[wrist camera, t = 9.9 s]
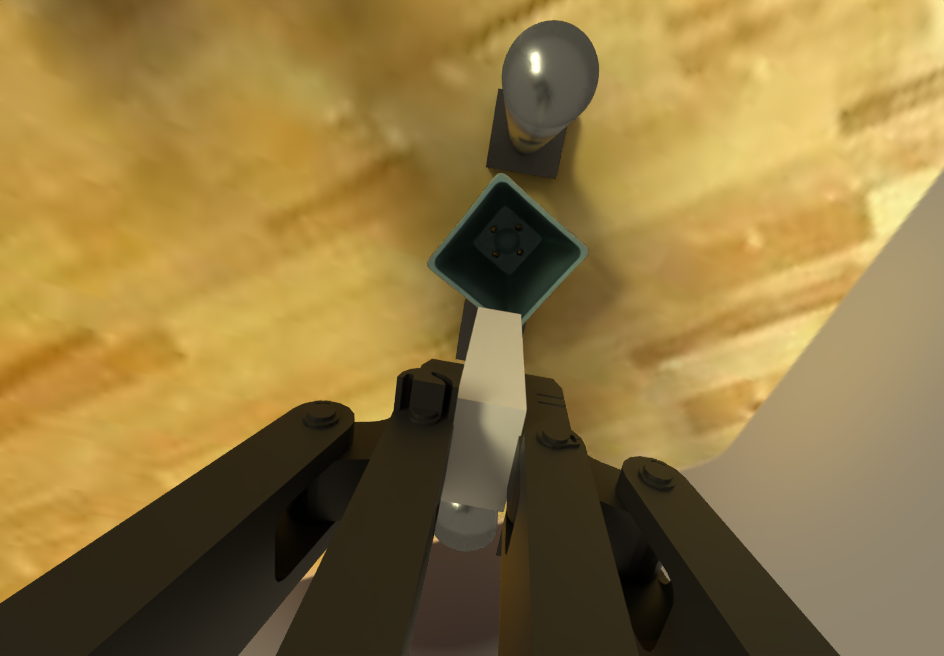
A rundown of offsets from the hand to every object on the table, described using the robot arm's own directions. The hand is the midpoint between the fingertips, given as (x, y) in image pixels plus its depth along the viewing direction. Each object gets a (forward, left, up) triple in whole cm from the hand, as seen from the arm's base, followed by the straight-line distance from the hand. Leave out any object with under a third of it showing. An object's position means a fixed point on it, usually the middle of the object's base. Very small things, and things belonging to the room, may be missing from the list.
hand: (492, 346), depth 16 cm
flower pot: (0, 0, -28) cm, 28 cm away
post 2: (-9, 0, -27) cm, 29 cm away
